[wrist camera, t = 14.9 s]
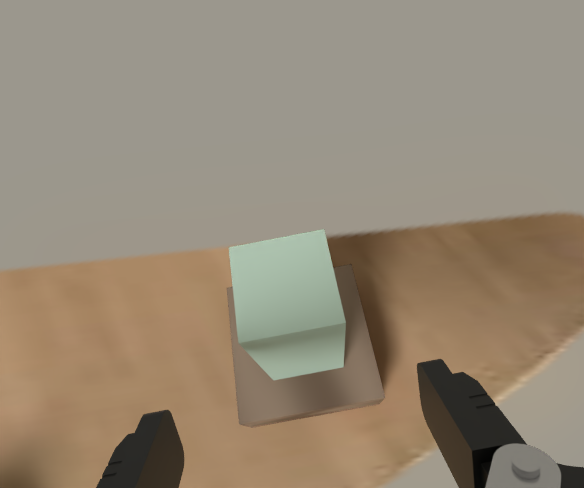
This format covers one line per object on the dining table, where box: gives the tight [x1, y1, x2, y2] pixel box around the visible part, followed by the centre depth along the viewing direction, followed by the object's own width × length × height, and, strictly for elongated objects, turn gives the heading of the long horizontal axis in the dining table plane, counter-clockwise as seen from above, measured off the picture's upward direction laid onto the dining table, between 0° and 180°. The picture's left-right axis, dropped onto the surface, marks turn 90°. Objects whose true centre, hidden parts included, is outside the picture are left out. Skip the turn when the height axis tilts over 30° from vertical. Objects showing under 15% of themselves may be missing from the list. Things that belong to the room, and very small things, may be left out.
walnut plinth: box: [227, 264, 385, 428], centre depth 28 cm, size 9×9×4 cm
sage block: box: [229, 229, 346, 380], centre depth 22 cm, size 4×4×10 cm
